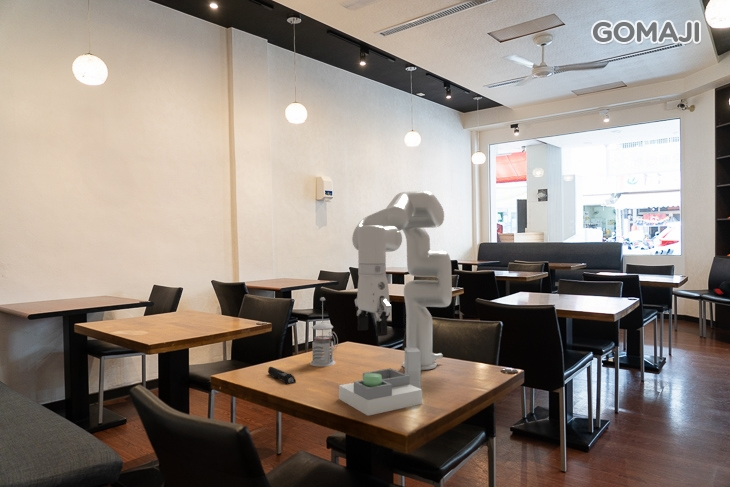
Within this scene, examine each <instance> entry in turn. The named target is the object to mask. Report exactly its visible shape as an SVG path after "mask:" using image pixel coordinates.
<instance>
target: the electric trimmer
mask: <svg viewBox="0 0 730 487" xmlns="http://www.w3.org/2000/svg"><path fill="white" fill-rule="evenodd" d="M267 370H268V371H267V372H268V374H269V376H271V377H273V379H276V380H277V379H278V380H280V381H283V382H284V384H286V385H293V384H296V383H297V381H296V378H295V377H294V375H293V374H292V373H288V372H285V371H283V370H281V369H278V368H275V367H274V366H269V367H268V369H267Z"/></svg>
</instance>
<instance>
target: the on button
mask: <svg viewBox="0 0 730 487" xmlns="http://www.w3.org/2000/svg"><path fill="white" fill-rule="evenodd" d="M362 380H363V385H365V386H367V387H374V386H380V385H382V375H380V374H376V373H369V374H365V375H363V374H362Z"/></svg>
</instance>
